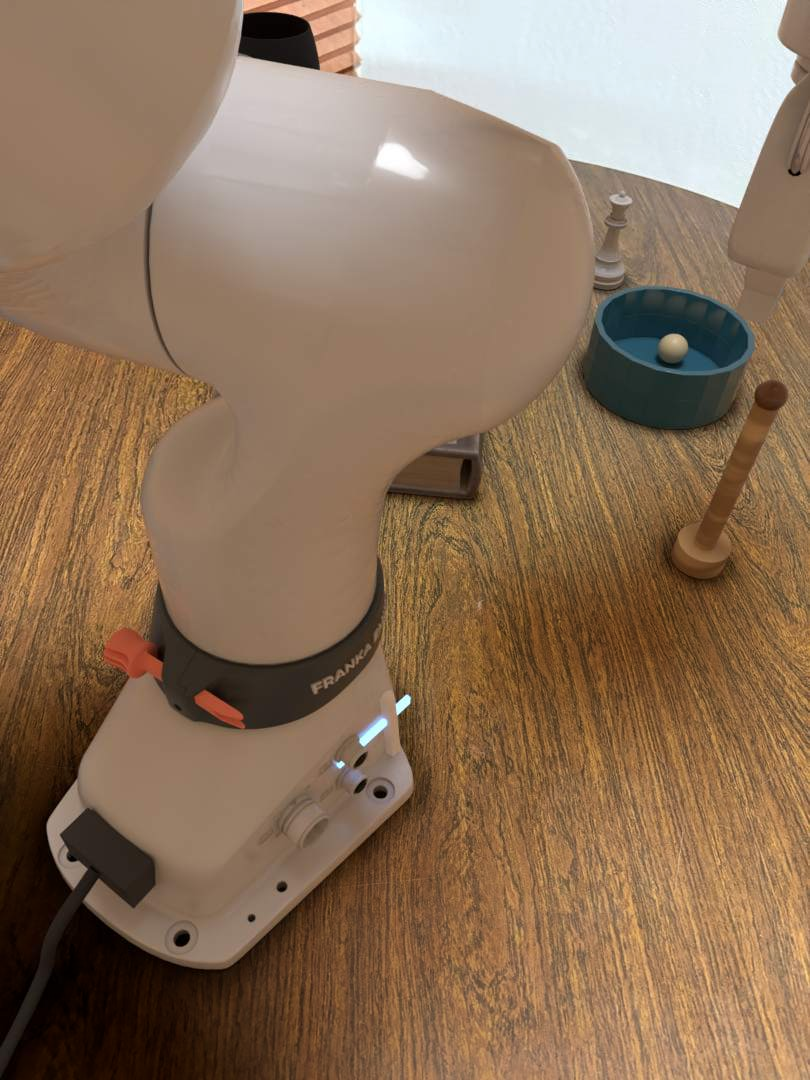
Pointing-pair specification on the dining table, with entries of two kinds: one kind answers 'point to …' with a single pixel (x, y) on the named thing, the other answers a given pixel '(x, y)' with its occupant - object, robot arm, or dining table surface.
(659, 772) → the dining table surface
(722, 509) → the wooden peg stand
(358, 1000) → the dining table surface
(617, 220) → the chess piece
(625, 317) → the bowl
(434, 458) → the book
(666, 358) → the beige ball
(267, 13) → the wine glass
